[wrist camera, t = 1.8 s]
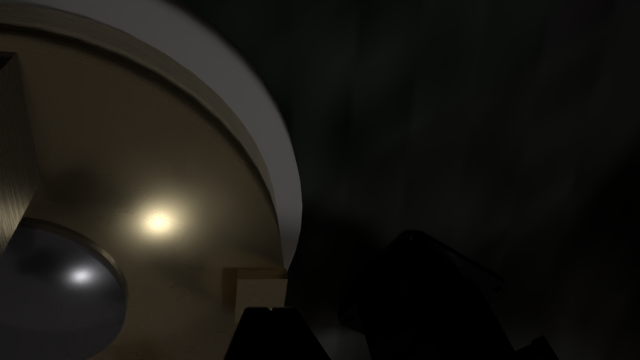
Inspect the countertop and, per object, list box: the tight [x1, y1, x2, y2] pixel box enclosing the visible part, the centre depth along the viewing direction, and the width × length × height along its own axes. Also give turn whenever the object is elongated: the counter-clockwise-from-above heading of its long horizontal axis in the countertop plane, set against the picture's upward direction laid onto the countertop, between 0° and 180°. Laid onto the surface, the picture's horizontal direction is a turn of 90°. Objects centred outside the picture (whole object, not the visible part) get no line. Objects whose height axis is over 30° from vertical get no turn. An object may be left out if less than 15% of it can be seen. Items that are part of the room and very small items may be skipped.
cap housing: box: [0, 0, 302, 271], centre depth 19 cm, size 18×18×2 cm
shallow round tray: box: [0, 3, 288, 360], centre depth 16 cm, size 16×16×7 cm
